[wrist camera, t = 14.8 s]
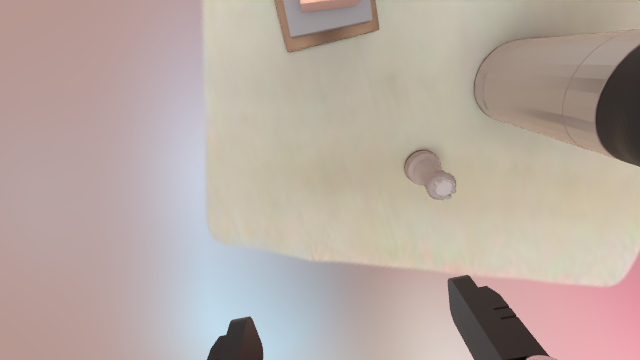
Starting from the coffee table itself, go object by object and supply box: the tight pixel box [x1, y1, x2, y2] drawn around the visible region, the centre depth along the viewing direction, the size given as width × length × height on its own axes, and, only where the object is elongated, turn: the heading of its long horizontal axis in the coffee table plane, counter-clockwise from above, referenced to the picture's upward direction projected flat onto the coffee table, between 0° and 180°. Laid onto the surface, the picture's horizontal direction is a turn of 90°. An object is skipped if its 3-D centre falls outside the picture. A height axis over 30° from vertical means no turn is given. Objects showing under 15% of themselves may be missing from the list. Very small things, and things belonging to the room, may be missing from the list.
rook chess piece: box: [405, 150, 456, 200], centre depth 37 cm, size 4×4×8 cm
